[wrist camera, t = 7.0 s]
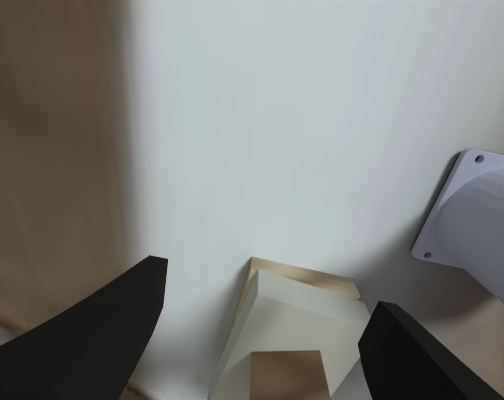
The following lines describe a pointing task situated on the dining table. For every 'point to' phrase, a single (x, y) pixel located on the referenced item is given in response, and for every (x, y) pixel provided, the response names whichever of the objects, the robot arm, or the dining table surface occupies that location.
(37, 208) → the dining table surface
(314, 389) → the walnut block
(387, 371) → the robot arm
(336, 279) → the slab bottom
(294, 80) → the dining table surface
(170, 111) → the dining table surface
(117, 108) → the dining table surface
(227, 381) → the slab top
